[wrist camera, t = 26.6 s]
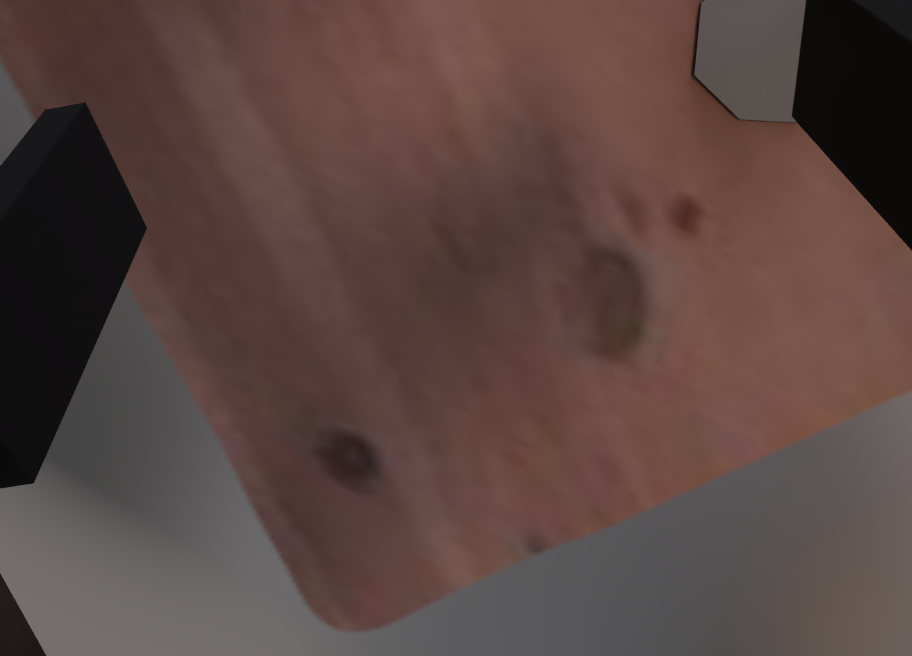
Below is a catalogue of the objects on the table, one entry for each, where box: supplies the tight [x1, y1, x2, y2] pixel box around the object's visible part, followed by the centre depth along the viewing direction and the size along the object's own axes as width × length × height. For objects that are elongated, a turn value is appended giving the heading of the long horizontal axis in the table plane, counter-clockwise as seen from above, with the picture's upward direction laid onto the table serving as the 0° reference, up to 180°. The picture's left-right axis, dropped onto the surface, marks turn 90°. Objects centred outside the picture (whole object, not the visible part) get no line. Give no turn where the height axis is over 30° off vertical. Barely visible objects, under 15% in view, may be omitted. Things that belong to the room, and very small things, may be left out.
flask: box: [694, 0, 806, 122], centre depth 29 cm, size 7×7×10 cm
